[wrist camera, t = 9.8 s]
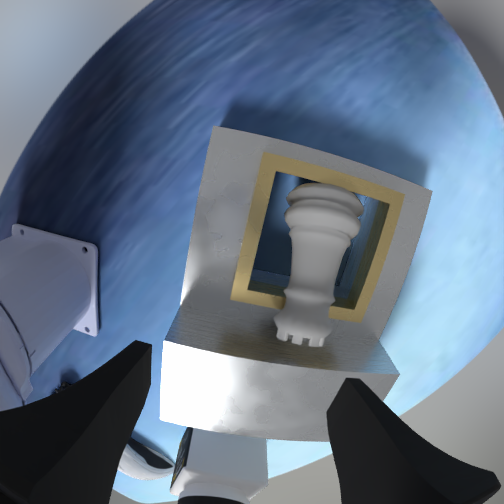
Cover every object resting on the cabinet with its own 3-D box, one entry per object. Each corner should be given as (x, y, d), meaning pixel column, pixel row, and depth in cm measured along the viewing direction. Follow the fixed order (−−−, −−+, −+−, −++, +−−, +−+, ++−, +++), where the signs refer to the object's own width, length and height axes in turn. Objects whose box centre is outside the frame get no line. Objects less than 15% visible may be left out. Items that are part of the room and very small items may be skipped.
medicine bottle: (195, 407, 23) (174, 520, 12) (266, 425, 24) (271, 533, 12) (179, 442, 25) (160, 533, 14) (241, 457, 26) (238, 547, 14)
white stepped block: (177, 366, 22) (160, 419, 16) (217, 129, 16) (200, 113, 11) (337, 390, 22) (353, 440, 17) (417, 187, 17) (471, 200, 12)
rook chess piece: (335, 173, 13) (304, 351, 11) (378, 209, 15) (356, 351, 14) (271, 187, 16) (240, 329, 15) (319, 215, 19) (296, 335, 17)
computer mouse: (154, 475, 29) (149, 496, 25) (45, 401, 25) (32, 421, 21) (197, 460, 27) (193, 486, 23) (67, 372, 23) (50, 395, 19)
